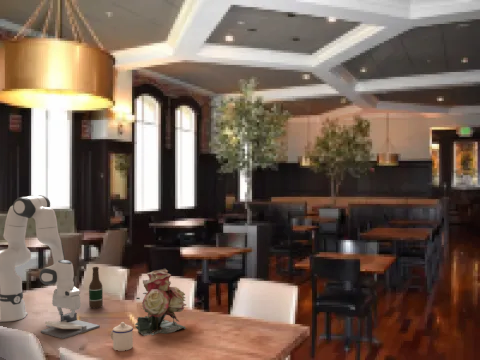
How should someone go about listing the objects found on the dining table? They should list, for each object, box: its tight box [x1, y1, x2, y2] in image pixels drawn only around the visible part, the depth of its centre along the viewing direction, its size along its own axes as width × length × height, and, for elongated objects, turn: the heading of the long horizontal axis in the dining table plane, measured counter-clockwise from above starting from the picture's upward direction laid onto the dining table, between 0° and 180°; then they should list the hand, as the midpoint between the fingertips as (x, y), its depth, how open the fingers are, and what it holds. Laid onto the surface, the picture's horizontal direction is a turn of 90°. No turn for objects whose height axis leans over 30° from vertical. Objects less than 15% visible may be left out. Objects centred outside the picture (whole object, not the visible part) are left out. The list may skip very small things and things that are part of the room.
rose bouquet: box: [134, 268, 187, 337], centre depth 257 cm, size 26×29×30 cm
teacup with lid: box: [109, 321, 134, 352], centre depth 227 cm, size 12×9×12 cm
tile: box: [44, 321, 82, 329], centre depth 251 cm, size 12×14×1 cm
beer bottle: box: [88, 266, 104, 309], centre depth 300 cm, size 8×8×24 cm
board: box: [40, 319, 100, 340], centre depth 255 cm, size 18×22×3 cm
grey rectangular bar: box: [45, 311, 78, 328], centre depth 267 cm, size 16×5×4 cm, turn 145°
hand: (66, 316), depth 268 cm, fingers open, 8 cm apart
